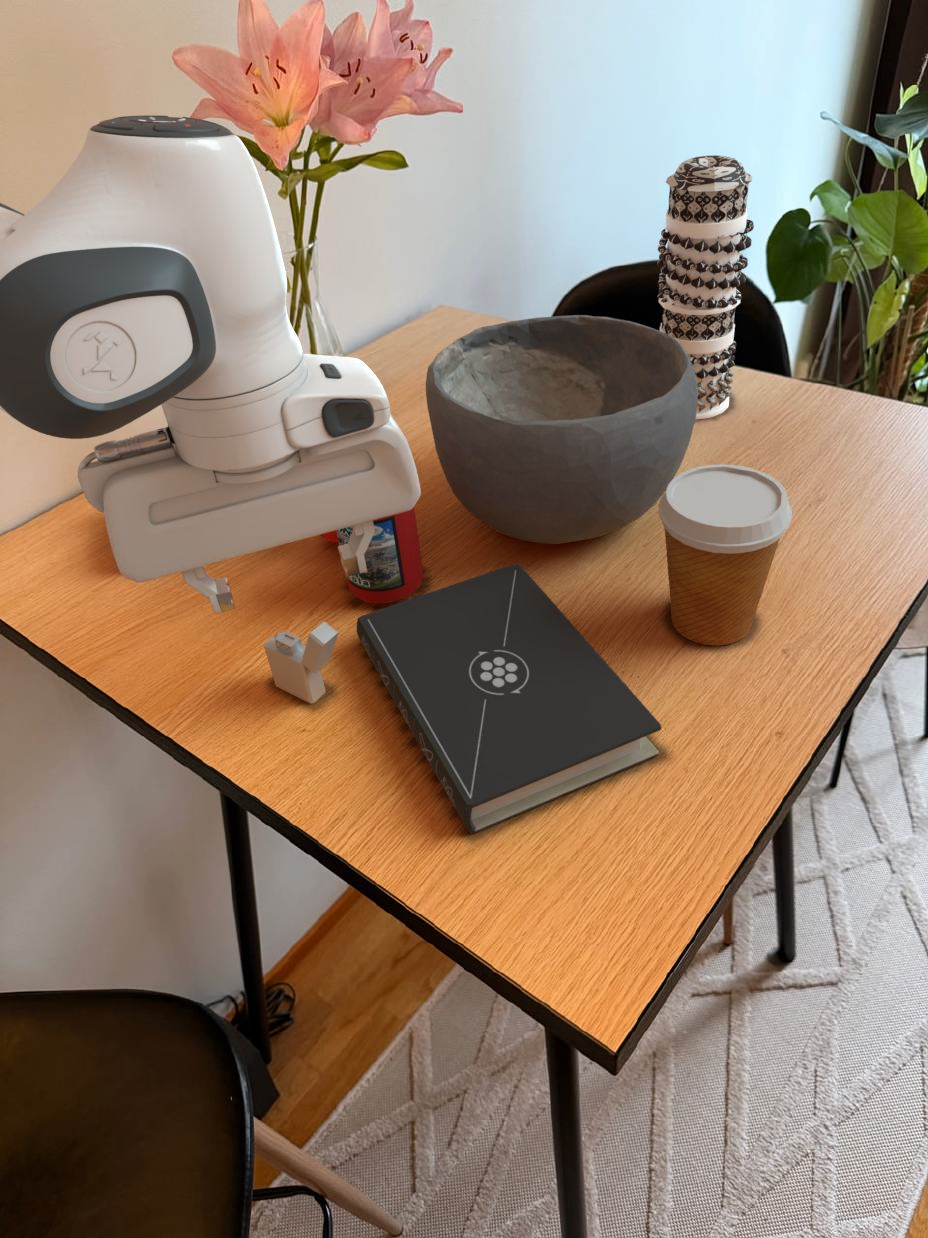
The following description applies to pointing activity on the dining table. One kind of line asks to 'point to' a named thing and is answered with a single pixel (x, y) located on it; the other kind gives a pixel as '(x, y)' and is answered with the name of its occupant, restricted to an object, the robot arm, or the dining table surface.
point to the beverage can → (388, 560)
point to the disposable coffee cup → (720, 547)
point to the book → (504, 695)
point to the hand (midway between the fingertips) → (290, 588)
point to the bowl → (561, 423)
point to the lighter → (301, 661)
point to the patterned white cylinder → (705, 269)
